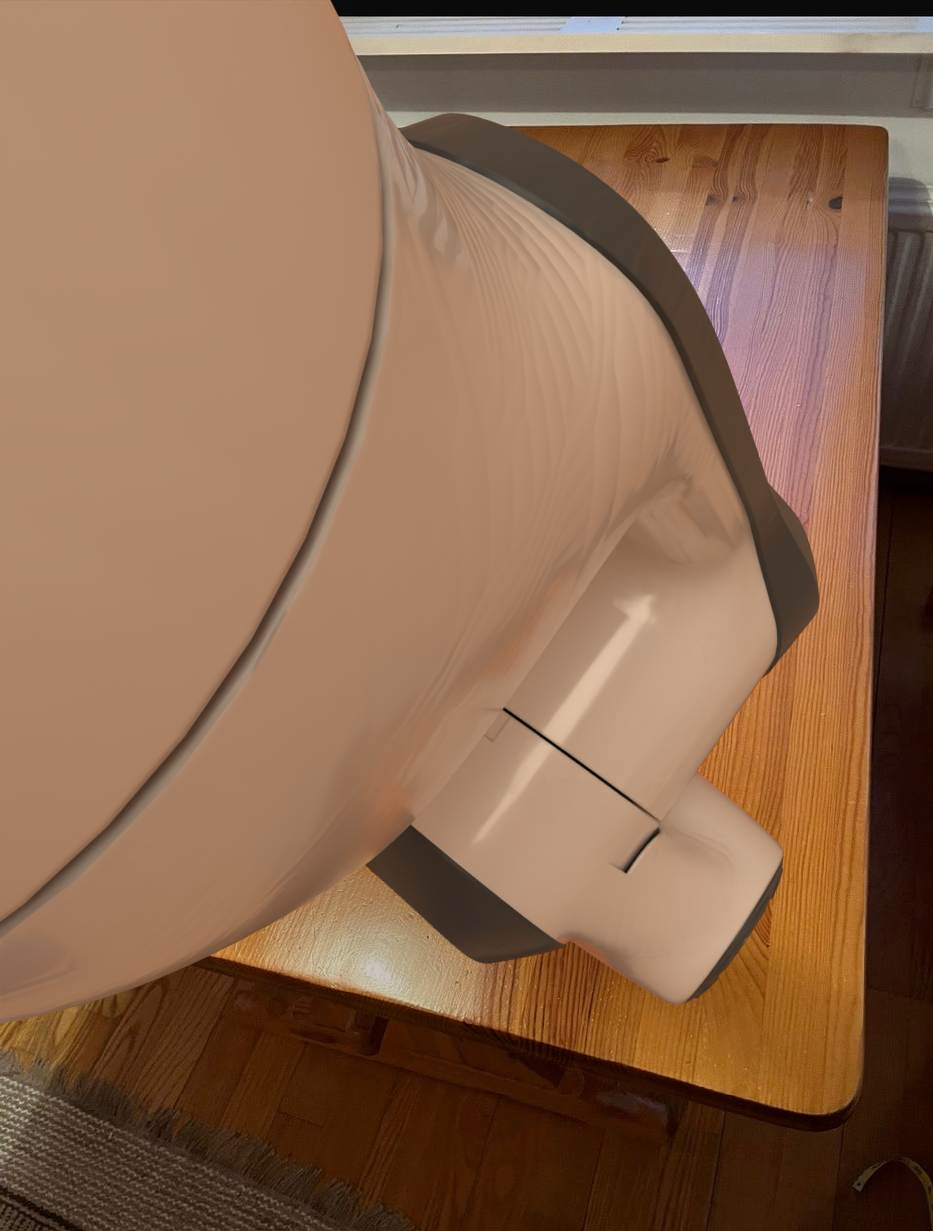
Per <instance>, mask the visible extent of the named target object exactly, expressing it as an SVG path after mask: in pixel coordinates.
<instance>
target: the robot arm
mask: <svg viewBox="0 0 933 1231" xmlns="http://www.w3.org/2000/svg"><path fill="white" fill-rule="evenodd" d="M365 71H366V70H364V67H363V65H362V63H361V62H360V60H359V58H358V56H357V54H356V53H355V51H354V49H353V46H352V45H351V42H350V39H349V36H348V34H347V31H346V29H345V27H344V24H343V23H342V21H341V18H340V17H339V15H338V13H337V10H336V9H335V7H334V4H333V2H332V1H331V0H0V1025H1V1024H7V1023H12V1022H16V1021H22V1020H26V1019H32V1018H35V1017H36V1018H37V1017H40V1016H44V1015H49V1014H52V1013H56V1012H61V1011H64V1010H67V1009H72V1008H76V1007H80V1006H84V1005H86V1004H91V1003H92V1002H95V1001H99V1000H103V999H106V998H109V997H112V996H115V995H117V994H120V993H124V992H126V991H130V990H132V989H135V988H138V987H140V986H143V985H145V984H147V983H150V982H153V981H156V980H159V979H160V978H162V977H165V976H168V975H170V974H173V973H174V972H177V971H179V970H182V969H183V968H186V967H188V966H191V965H193V964H195V963H197V962H200V961H201V960H203V959H206V958H209V957H210V956H213V955H214V954H216V953H218V952H220V951H222V950H224V949H226V948H228V947H230V946H233V945H235V944H236V943H239V942H240V941H242V940H245V939H246V938H248V937H249V936H251V935H253V934H255V933H257V932H260V931H262V930H264V929H265V928H267V927H269V926H270V925H272V924H274V923H277V922H278V921H279V920H281V919H283V918H285V917H287V916H288V915H291V914H293V913H295V911H298V910H299V909H301V908H303V907H304V906H306V905H308V904H310V903H311V902H313V901H315V900H316V899H318V898H319V897H321V896H323V895H325V894H326V893H328V892H330V891H331V890H332V889H334V888H335V887H337V886H338V885H340V884H342V883H343V882H344V881H345V880H347V879H349V877H351V876H352V875H354V874H355V873H357V872H358V871H360V870H361V869H362V868H363V867H366V868H367V869H369V871H370V872H372V873H373V874H374V875H375V876H377V878H378V879H380V880H381V881H382V882H383V883H384V884H385V885H387V886H388V888H390V889H391V890H392V891H393V892H394V893H395V894H396V895H397V896H399V897H400V899H402V900H403V901H404V902H405V903H406V904H407V905H408V906H409V907H410V908H412V910H414V912H416V913H417V914H418V915H419V916H420V917H421V918H422V919H423V920H424V921H425V922H427V923H428V924H429V925H430V927H432V928H433V929H434V930H435V931H436V932H437V933H438V934H439V935H441V936H442V937H443V938H444V939H445V940H446V941H448V942H449V943H450V944H451V945H452V946H453V947H455V949H457V950H458V951H459V952H460V953H462V954H463V955H464V956H466V957H467V958H469V959H470V960H472V961H474V962H477V963H480V964H486V965H490V964H491V965H492V964H497V963H502V962H510V961H514V960H518V959H524V958H529V957H535V956H538V955H539V956H540V955H543V954H546V953H550V952H554V951H558V950H561V949H563V948H566V947H567V944H568V943H569V942H572V943H573V944H574V945H576V946H577V947H579V948H580V949H582V950H583V951H584V952H586V953H587V954H588V955H590V956H592V957H593V958H595V959H596V960H598V961H599V962H601V963H602V964H604V965H605V966H607V967H608V968H610V969H611V970H613V971H615V972H616V973H618V975H621V976H622V977H623V978H625V979H626V980H628V981H630V982H632V983H633V984H635V985H637V986H638V987H640V988H641V989H643V990H645V991H646V992H647V993H649V994H651V995H652V996H654V997H656V998H657V999H659V1000H661V1001H663V1002H665V1003H667V1004H670V1005H672V1006H673V1005H674V1006H680V1005H684V1004H687V1003H689V1002H691V1001H693V1000H695V999H698V998H700V997H702V995H703V994H704V993H706V992H707V991H708V990H710V988H711V987H712V986H713V985H714V984H715V983H716V982H717V981H718V980H719V978H720V976H721V974H722V973H724V971H726V970H727V968H728V967H729V966H730V965H731V963H732V962H733V961H734V960H735V958H736V957H737V955H738V953H739V952H740V951H741V949H742V948H743V946H744V945H745V943H746V942H747V941H748V939H749V937H750V936H751V934H752V933H753V931H754V930H755V928H756V927H757V926H758V924H759V923H760V921H761V919H762V917H763V916H764V914H765V912H766V909H767V908H768V904H769V902H770V901H771V900H773V899H774V897H775V894H776V893H777V891H778V888H779V885H780V882H781V879H782V876H783V873H784V868H783V865H784V849H783V847H782V845H781V844H780V843H779V842H778V841H777V840H776V839H775V837H774V836H773V835H772V834H771V833H770V832H769V831H768V830H767V829H765V827H764V826H763V825H761V824H760V823H759V822H758V821H757V820H756V819H755V818H753V816H751V814H749V813H748V812H747V811H746V810H745V809H743V808H742V807H741V806H740V805H739V804H738V803H737V802H735V801H734V800H733V799H732V798H731V797H729V796H728V795H727V794H726V793H724V792H723V791H722V790H721V789H720V788H719V787H718V786H717V785H715V784H714V783H713V782H711V780H709V779H708V778H707V777H705V776H704V775H702V773H700V772H699V771H700V769H701V767H702V766H703V764H704V763H705V761H706V760H707V759H708V757H709V756H710V755H711V753H712V751H713V750H714V748H715V747H716V746H717V744H718V743H719V741H720V740H721V738H722V737H723V736H724V734H725V732H726V731H727V729H728V728H729V727H730V725H731V724H732V722H733V721H734V719H735V718H736V716H737V715H738V714H739V712H740V711H741V710H742V708H743V706H744V705H745V703H746V702H747V700H748V699H749V697H750V696H751V695H752V693H753V692H754V690H755V689H756V688H757V686H758V685H759V683H761V680H762V679H764V678H765V677H766V676H768V675H769V674H770V673H771V672H772V670H773V669H774V668H775V666H776V665H777V664H778V663H779V661H781V659H782V658H783V656H784V655H785V654H786V653H787V651H788V650H789V649H790V648H791V647H792V646H793V644H794V643H795V641H796V640H797V639H798V638H799V637H800V635H801V634H802V633H803V632H804V631H805V629H806V628H807V626H809V624H810V623H811V621H812V620H813V619H814V618H815V616H816V615H817V613H818V611H819V608H820V589H819V582H818V574H817V568H816V563H815V559H814V554H813V551H812V547H811V544H810V541H809V538H808V536H807V534H806V530H805V528H804V525H803V524H802V522H801V520H800V519H799V517H798V516H797V514H796V512H795V511H794V510H793V509H792V508H791V506H790V505H789V504H788V503H787V502H786V501H785V500H784V499H783V497H782V496H781V495H780V494H779V493H778V491H777V490H776V489H775V488H774V487H773V486H772V485H771V483H769V481H768V478H767V475H766V472H765V469H764V466H763V464H762V460H761V457H760V454H759V450H758V448H757V445H756V442H755V439H754V436H753V433H752V430H751V426H750V424H749V421H748V418H747V415H746V412H745V409H744V406H743V403H742V399H741V397H740V394H739V391H738V388H737V384H736V382H735V379H734V377H733V376H734V375H733V374H732V371H731V368H730V365H729V362H728V360H727V357H726V354H725V352H724V350H723V347H722V344H721V342H720V339H719V337H718V335H717V332H716V330H715V328H714V325H713V323H712V321H711V318H710V316H709V314H708V312H707V310H706V308H705V306H704V304H703V301H702V300H701V298H700V296H699V294H698V293H697V291H696V289H695V287H694V285H693V284H692V282H691V280H690V278H689V277H688V275H687V273H686V272H685V270H684V269H683V267H682V266H681V264H680V263H679V261H678V259H677V258H676V257H675V255H674V254H673V253H672V251H671V249H670V248H669V247H668V245H667V244H666V243H665V241H664V240H663V239H662V238H661V237H660V235H659V234H658V232H657V231H656V230H655V229H654V228H653V227H652V225H651V224H650V223H649V222H648V221H647V220H646V219H645V218H644V216H643V215H642V214H641V213H640V212H639V211H638V210H637V209H636V208H635V207H634V206H633V205H632V204H631V203H630V202H628V201H627V200H626V198H624V197H623V196H622V195H621V194H619V193H618V191H616V190H615V189H614V188H613V187H611V186H610V185H608V184H607V183H606V182H605V181H604V180H602V179H601V178H600V177H598V176H597V175H595V174H594V173H593V172H592V171H590V170H589V169H587V168H586V167H585V166H583V165H581V164H580V163H578V162H577V161H575V160H574V159H572V158H570V157H569V156H567V155H566V154H564V153H562V152H560V151H559V150H557V149H556V148H554V147H552V146H550V145H548V144H546V143H544V142H542V141H540V140H538V139H536V138H535V137H532V136H530V135H528V134H525V133H523V132H521V131H518V130H517V129H514V128H511V127H509V126H506V125H504V124H501V123H498V122H496V121H492V120H490V119H487V118H483V117H480V116H476V115H471V114H467V113H459V112H447V113H441V114H439V115H435V116H432V117H430V118H429V117H428V118H427V119H423V120H420V121H418V122H415V123H411V124H409V125H406V126H402V127H400V128H398V126H397V125H396V124H395V122H394V121H393V120H392V118H391V117H390V115H389V114H388V113H387V111H386V109H385V107H384V106H383V104H382V102H381V101H380V99H379V97H378V95H377V93H376V92H375V89H374V88H373V86H372V83H371V82H370V80H369V78H368V76H367V73H366V72H365Z"/></svg>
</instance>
